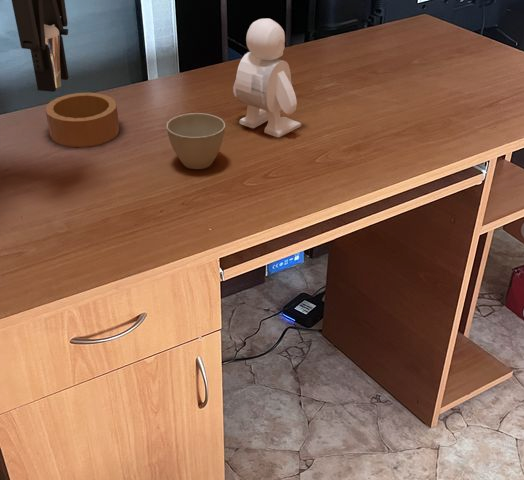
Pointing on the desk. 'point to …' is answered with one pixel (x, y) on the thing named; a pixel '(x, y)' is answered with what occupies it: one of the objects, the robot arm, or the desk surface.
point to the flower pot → (196, 138)
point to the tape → (82, 119)
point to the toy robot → (266, 80)
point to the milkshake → (54, 51)
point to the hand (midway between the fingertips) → (53, 83)
